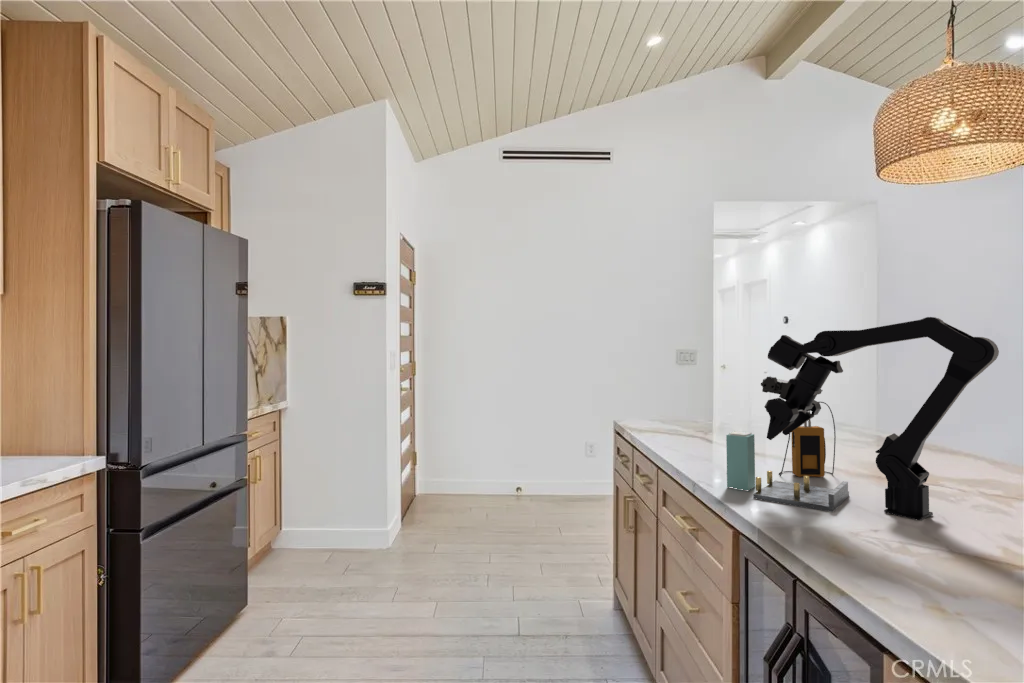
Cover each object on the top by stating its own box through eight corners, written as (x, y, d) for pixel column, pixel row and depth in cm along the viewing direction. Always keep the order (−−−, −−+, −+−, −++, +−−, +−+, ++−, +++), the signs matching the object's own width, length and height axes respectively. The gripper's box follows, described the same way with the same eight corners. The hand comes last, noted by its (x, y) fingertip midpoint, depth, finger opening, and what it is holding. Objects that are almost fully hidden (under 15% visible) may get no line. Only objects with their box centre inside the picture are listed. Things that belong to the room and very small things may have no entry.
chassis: (849, 495, 127) (848, 478, 127) (832, 512, 115) (832, 492, 115) (772, 484, 138) (772, 468, 138) (750, 497, 126) (750, 480, 126)
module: (755, 487, 136) (754, 432, 136) (748, 491, 132) (747, 435, 132) (734, 484, 139) (733, 430, 139) (727, 488, 135) (726, 433, 135)
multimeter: (822, 469, 154) (821, 397, 154) (839, 477, 144) (838, 401, 144) (767, 468, 155) (766, 397, 155) (781, 477, 145) (780, 401, 145)
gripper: (792, 362, 138) (762, 414, 144) (760, 364, 126) (729, 421, 131) (835, 385, 131) (803, 439, 136) (807, 390, 118) (772, 449, 124)
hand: (776, 436), depth 132 cm, fingers open, 9 cm apart
